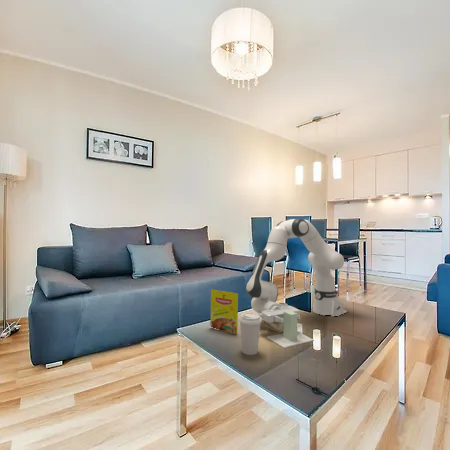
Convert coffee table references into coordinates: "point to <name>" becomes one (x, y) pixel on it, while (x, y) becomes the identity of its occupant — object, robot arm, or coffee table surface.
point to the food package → (224, 311)
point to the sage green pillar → (290, 325)
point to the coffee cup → (250, 332)
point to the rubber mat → (286, 343)
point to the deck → (275, 326)
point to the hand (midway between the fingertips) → (291, 319)
